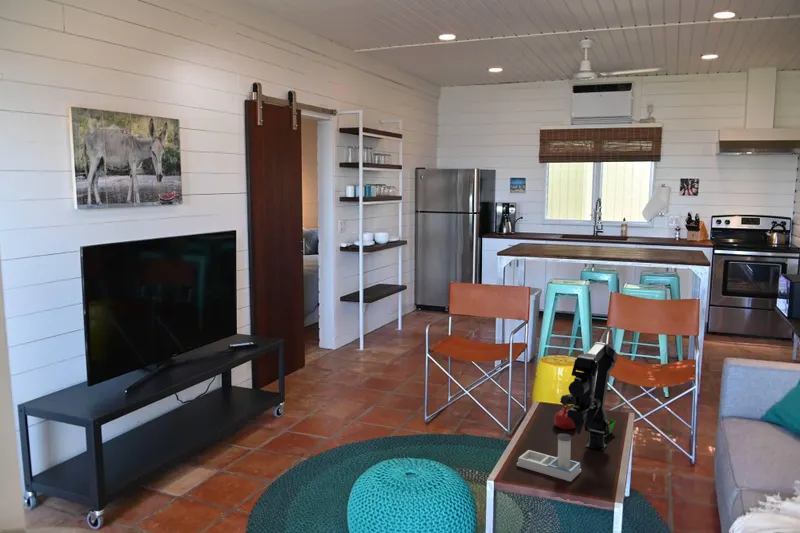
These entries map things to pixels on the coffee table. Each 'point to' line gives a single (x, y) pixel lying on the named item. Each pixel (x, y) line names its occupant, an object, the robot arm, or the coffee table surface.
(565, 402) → the robot arm
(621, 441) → the coffee table surface
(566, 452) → the plug post
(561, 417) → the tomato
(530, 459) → the compartment tray
